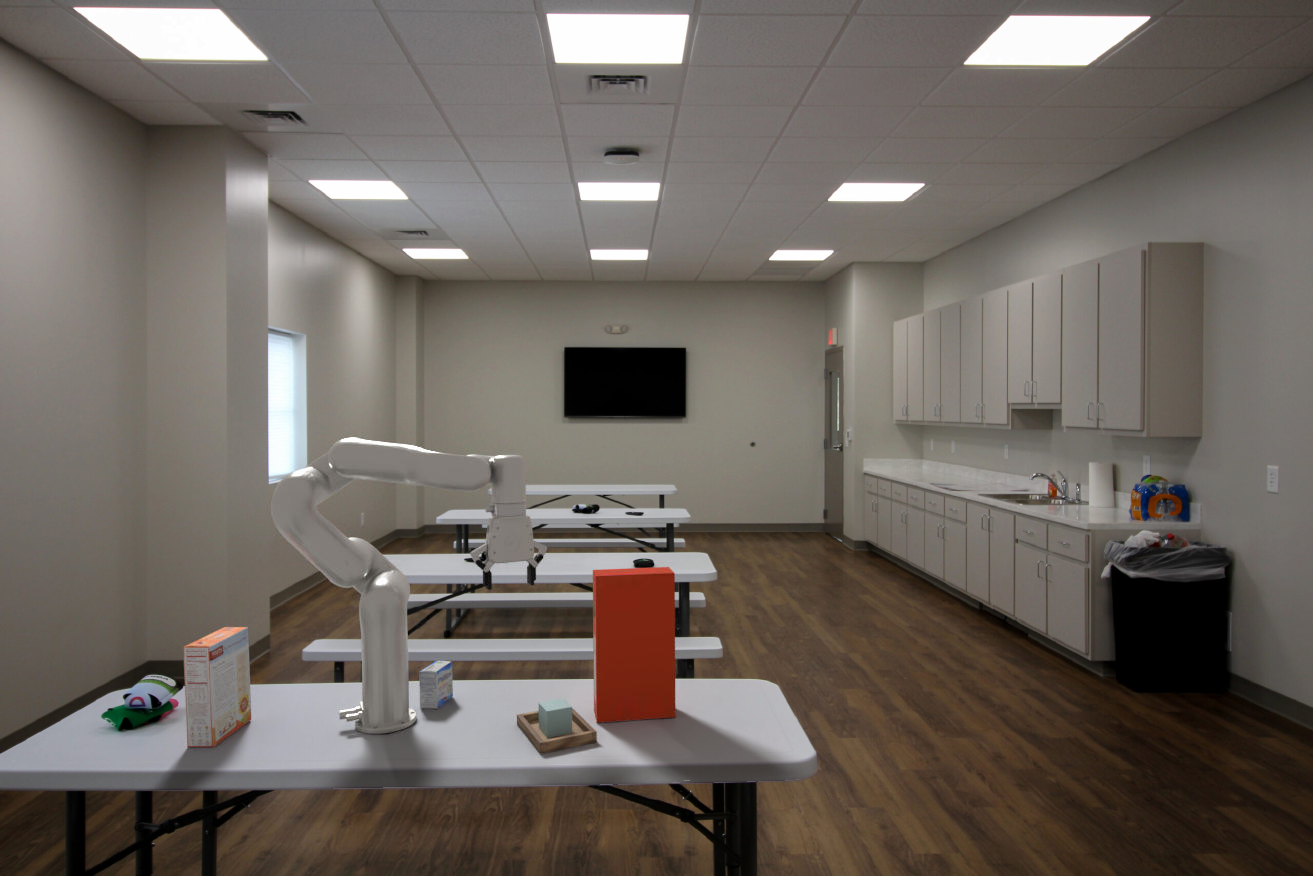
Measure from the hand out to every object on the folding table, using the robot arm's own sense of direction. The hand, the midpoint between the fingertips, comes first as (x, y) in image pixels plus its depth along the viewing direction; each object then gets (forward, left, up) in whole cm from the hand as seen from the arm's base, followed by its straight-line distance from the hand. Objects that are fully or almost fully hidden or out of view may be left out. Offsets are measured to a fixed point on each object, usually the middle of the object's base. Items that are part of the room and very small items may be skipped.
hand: (509, 586), depth 172 cm
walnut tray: (+5, -16, -28) cm, 33 cm away
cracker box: (-58, +16, -28) cm, 67 cm away
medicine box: (-14, +13, -29) cm, 34 cm away
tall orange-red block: (+24, -14, -28) cm, 40 cm away
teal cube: (+5, -16, -28) cm, 32 cm away
